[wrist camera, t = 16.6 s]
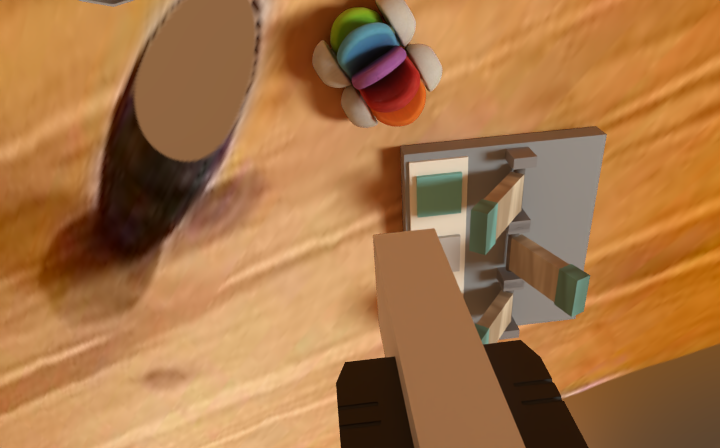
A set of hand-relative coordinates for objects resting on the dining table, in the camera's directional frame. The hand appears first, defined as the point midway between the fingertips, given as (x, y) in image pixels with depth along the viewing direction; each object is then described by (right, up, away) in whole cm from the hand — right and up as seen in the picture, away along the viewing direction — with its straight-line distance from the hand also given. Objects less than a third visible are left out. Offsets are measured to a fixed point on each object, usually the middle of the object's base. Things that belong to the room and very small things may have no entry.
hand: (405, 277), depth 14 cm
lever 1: (+13, +4, +35) cm, 38 cm away
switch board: (+12, 0, +41) cm, 43 cm away
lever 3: (+13, -1, +39) cm, 41 cm away
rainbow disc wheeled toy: (0, +15, +32) cm, 35 cm away
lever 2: (+14, -7, +42) cm, 45 cm away
